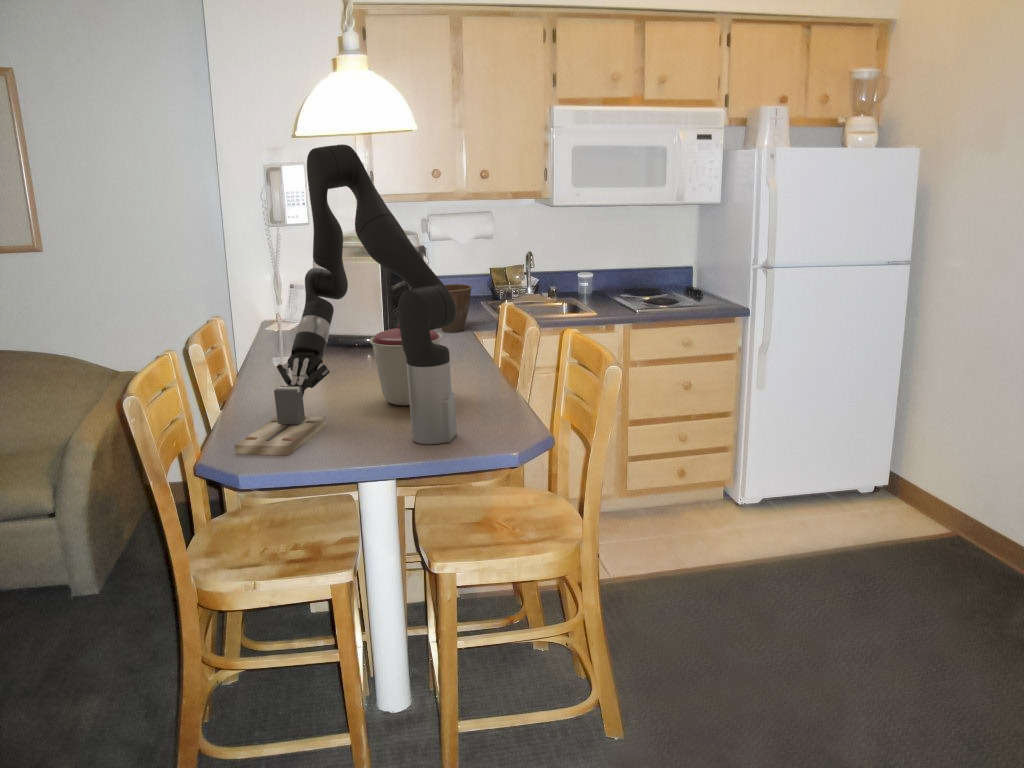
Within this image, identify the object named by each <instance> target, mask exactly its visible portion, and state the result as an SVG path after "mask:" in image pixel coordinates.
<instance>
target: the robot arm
mask: <svg viewBox="0 0 1024 768" xmlns="http://www.w3.org/2000/svg"><path fill="white" fill-rule="evenodd" d="M306 174H307V184H308V193H309V202H310V207H311V209H310V210H311V215H312V222H313V223H312V225H313V227H312V228H313V239H312V240H313V242H312V243H313V244H312V259H313V262H314V264H316V265H317V266H319V267H313V268H310V269H309V270H307V272H306V274H305V276H304V291H305V300H304V301H305V302H304V303H305V304H304V308H303V311H302V316H301V319H300V322H299V324H298V326H297V330H296V333H295V336H294V340H293V343H292V346H291V353H290V356H289V358H287V362H286V363H284V364H278V365H276V369H277V371H278V372H279V374H280V376H281V377H282V379H283V381H284V382H285V384H286V386H301V387H302V396H303V397H304V395H305V391H306V390H307V389H308V388H310V389H312V388H314V387H315V386H317V385H318V384H319V383H320V382H321V381H322V380H323V379H325V378H326V377H327V376H328V375H329V374H330V370H329V368H328V367H327V365H326V364H324V361H323V359H324V356H325V353H326V348H327V344H328V341H329V336H330V329H331V328H330V327H331V324H332V319H333V317H334V316H333V315H334V312H335V310H334V306H333V304H332V302H330V301H328V300H326V299H330V300H341V299H343V298H344V297H345V296H346V294H347V292H348V287H349V286H348V285H349V282H348V277H347V274H346V271H345V266H344V262H343V251H344V234H343V233H344V232H343V228H342V226H341V225H340V223H339V220H338V219H337V218H336V216H335V215H334V213H333V211H332V209H331V208H330V205H329V202H328V192H329V190H331V189H337V188H339V189H340V188H344V187H346V188H349V189H350V190H351V192H352V194H353V195H354V197H355V199H356V210H355V217H354V229H355V230H354V231H355V234H356V236H357V238H358V239H359V241H360V243H361V245H362V246H363V248H364V249H365V251H366V252H367V253H368V255H369V256H370V257H371V259H373V261H374V262H376V263H378V265H379V266H382V267H383V268H385V269H387V270H388V271H389V272H391V273H393V274H394V275H396V276H397V277H399V278H401V280H403V281H404V282H405V283H406V284H407V285H408V286H409V287H410V289H406V290H405V291H403V292H402V293H401V295H400V296H399V299H398V305H397V314H398V315H397V316H398V323H399V324H400V331H401V339H402V346H403V350H404V352H405V355H406V361H407V375H408V388H409V402H410V405H409V413H410V426H411V429H410V430H411V437H412V438H411V439H412V441H413V442H415V443H417V444H421V445H438V444H443V443H444V444H445V443H451V442H452V441H453V439H454V438H455V437H456V435H457V434H458V429H457V428H458V427H457V416H456V415H457V414H456V413H457V412H456V396H455V393H454V392H452V376H451V358H450V350H449V348H448V347H447V346H446V345H442V344H440V343H439V344H434V343H433V342H432V340H431V336H430V330H434V331H435V330H436V329H437V330H438V329H442V328H443V327H446V326H448V325H450V324H451V323H452V322H453V321H454V319H455V316H456V308H455V303H454V300H453V298H452V296H451V294H450V292H449V291H448V289H447V288H446V287H445V285H446V284H444V283H443V281H442V280H441V279H440V278H439V277H438V276H437V275H436V274H435V272H434V271H433V270H432V269H431V267H430V266H429V265H428V264H427V263H426V261H425V260H424V259H423V257H422V256H421V254H420V253H419V251H418V250H417V249H416V247H415V245H414V244H413V243H412V242H411V241H410V239H409V237H408V235H407V233H406V232H405V230H404V229H403V227H402V226H401V224H400V223H399V222H398V220H397V218H396V217H395V215H394V214H393V213H392V211H391V210H390V209H389V207H388V206H387V204H386V203H385V201H384V199H383V198H382V196H381V195H380V193H379V192H378V190H377V188H376V186H375V185H374V182H373V181H372V180H371V177H370V176H369V173H368V171H367V170H366V167H365V165H364V164H363V162H362V160H361V158H360V156H359V155H358V153H357V152H356V151H355V150H354V149H353V147H351V146H350V145H347V144H335V145H324V146H319V147H314V148H312V149H310V151H309V152H308V154H307V158H306ZM320 267H321V268H320ZM324 298H326V299H324ZM290 370H291V377H290V375H289V374H290Z"/></svg>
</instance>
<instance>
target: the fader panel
mask: <svg viewBox="0 0 1024 768" xmlns="http://www.w3.org/2000/svg"><path fill="white" fill-rule="evenodd" d="M326 418H327V417H326V416H305V420H304V421H303V422H301V423H300V424H278V420H277V416H276V417H274V418H273V419H271V420H270V421H268V422H266V423H265V424H264V425H262V426H261V427H259V428H258V429H256V430H255V431H253V432H251V434H249V435H247V436H246V437H244V438H243V439H241V440H240V441H238V442H237V443H235V444H234V451H235V455H236V454H237V455H261V456H262V455H263V456H266V455H267V456H268V455H269V456H289V455H291V454H292V453H294V452H295V450H297V449H298V448H300V447H301V446H302V445H303V444H304V443H306V442H307V441H308V440H310V439H311V438H312V437H313V436H315V435H316V434H317V433H318V432H320V431H321V430H322V429H324V428H325V427H326V426H327V419H326Z"/></svg>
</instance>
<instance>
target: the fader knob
mask: <svg viewBox="0 0 1024 768" xmlns="http://www.w3.org/2000/svg"><path fill="white" fill-rule="evenodd" d="M273 395H274V403H275V409H276V417H277V420H278V424H300V423H301V422H303V421H304V420H305V417H306V416H305V407H304V406H305V405H304V395H303V396H302V387H301V386H288V385H280V386H278V387H276V388H275V389H273Z"/></svg>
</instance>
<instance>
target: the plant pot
mask: <svg viewBox="0 0 1024 768" xmlns="http://www.w3.org/2000/svg"><path fill="white" fill-rule="evenodd" d="M444 285H445V287H446V288H447V289H448V291H449V292H450V294H451V296H452V298H453V300H454V303H455V308H456V316H455V319H454V321H453V322H452V323H451V324H450V325H448V326H446V327H443V328H441V331H442V332H443V333H448V334H450V333H451V334H454V333H461V332H462V331H464V327H465V325H466V321H467V318H468V313H469V307H470V302H471V292H472V286H471V285H468V284H458V283H455V284H452V283H451V284H444Z"/></svg>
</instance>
